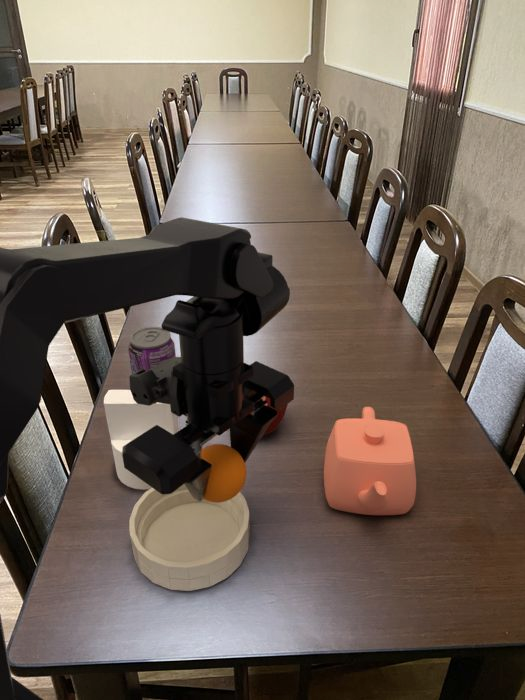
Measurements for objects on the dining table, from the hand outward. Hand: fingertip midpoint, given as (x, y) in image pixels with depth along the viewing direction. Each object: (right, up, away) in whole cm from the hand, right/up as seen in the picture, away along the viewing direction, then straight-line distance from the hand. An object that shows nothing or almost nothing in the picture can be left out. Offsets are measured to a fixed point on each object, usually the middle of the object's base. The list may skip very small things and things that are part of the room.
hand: (218, 481), depth 57 cm
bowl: (-4, -9, +7) cm, 12 cm away
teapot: (+18, -5, +14) cm, 23 cm away
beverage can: (-13, +6, +31) cm, 34 cm away
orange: (0, -1, +1) cm, 2 cm away
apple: (+4, +2, +25) cm, 26 cm away
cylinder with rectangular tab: (-11, -2, +18) cm, 21 cm away
